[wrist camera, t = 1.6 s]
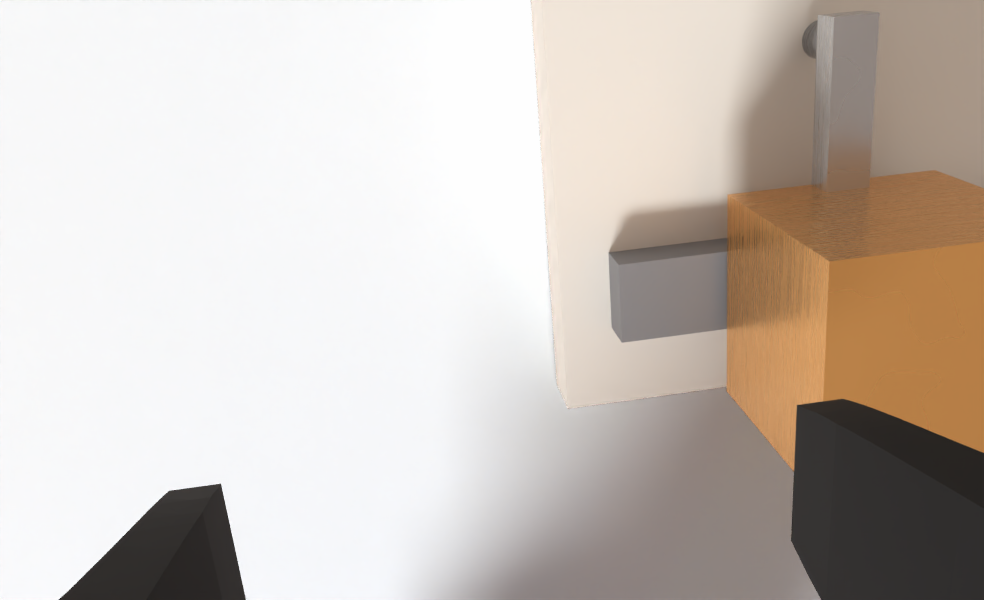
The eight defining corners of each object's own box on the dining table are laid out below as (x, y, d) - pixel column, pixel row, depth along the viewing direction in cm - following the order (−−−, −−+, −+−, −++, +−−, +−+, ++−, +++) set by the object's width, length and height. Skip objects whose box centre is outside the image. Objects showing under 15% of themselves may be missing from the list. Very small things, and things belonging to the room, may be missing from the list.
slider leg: (714, 376, 19) (818, 501, 15) (713, 21, 17) (839, 44, 12) (900, 350, 19) (1055, 465, 15) (926, -1, 17) (1122, 15, 13)
